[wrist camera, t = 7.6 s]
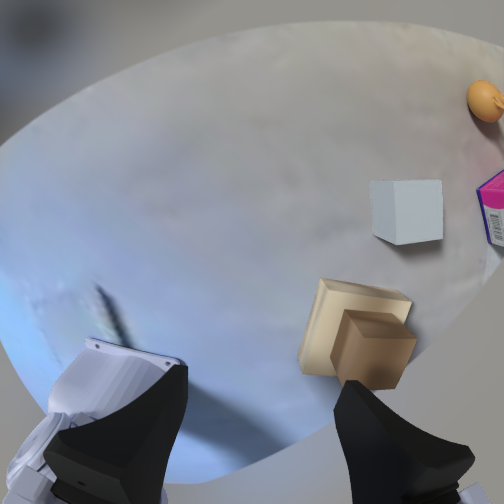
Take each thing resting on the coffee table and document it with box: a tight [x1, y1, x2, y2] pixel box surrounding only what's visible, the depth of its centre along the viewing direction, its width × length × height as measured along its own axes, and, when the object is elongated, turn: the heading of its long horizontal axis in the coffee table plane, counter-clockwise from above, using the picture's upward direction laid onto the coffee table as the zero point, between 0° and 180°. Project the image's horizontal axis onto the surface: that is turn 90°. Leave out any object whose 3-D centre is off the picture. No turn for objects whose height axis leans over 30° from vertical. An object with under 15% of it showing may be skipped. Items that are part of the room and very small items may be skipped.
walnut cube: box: [330, 309, 417, 390], centre depth 17 cm, size 4×4×4 cm
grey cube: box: [369, 179, 443, 245], centre depth 17 cm, size 4×4×4 cm
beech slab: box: [298, 278, 412, 376], centre depth 20 cm, size 7×7×3 cm
